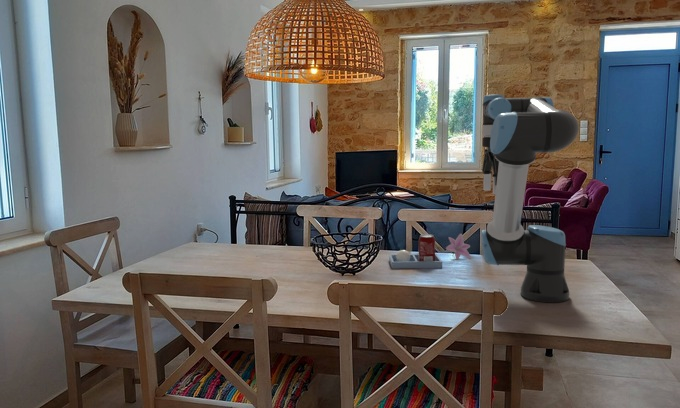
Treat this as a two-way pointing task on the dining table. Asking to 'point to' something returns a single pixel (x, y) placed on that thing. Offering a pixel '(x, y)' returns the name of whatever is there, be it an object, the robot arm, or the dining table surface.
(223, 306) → the dining table surface
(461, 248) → the lily
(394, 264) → the holder
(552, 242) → the robot arm
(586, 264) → the dining table surface
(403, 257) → the cream white ball
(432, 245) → the soda can
